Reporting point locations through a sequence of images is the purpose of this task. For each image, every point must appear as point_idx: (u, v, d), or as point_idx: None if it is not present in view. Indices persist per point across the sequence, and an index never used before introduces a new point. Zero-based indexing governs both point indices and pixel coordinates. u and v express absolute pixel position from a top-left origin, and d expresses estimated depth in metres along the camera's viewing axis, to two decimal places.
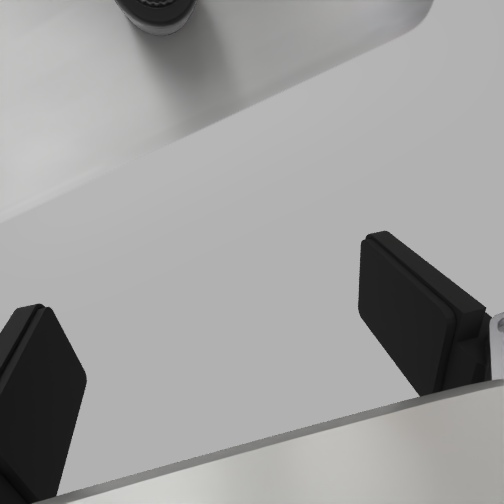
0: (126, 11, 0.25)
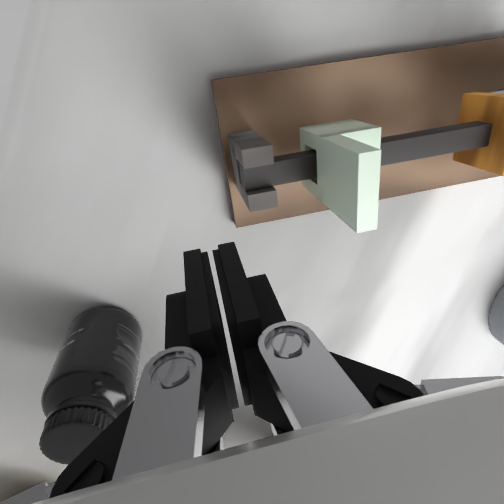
0: (78, 374, 0.26)
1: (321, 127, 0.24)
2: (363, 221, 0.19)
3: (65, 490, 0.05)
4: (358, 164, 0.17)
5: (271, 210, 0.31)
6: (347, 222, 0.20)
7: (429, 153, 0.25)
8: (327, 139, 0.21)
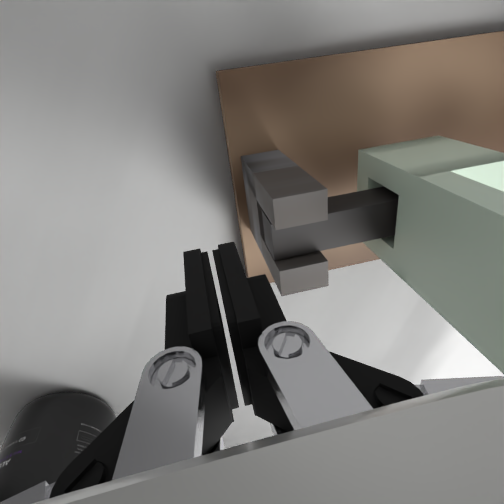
0: None
1: (399, 151, 0.15)
2: None
3: (66, 490, 0.05)
4: None
5: None
6: (476, 343, 0.11)
7: None
8: (435, 183, 0.11)
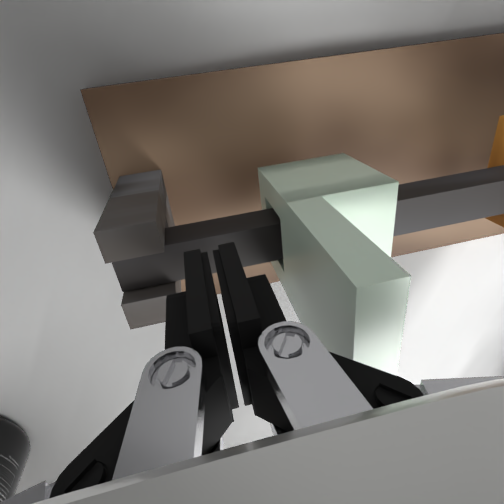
0: None
1: (292, 171, 0.14)
2: None
3: (66, 490, 0.05)
4: (355, 307, 0.07)
5: None
6: None
7: (446, 220, 0.15)
8: (295, 211, 0.11)
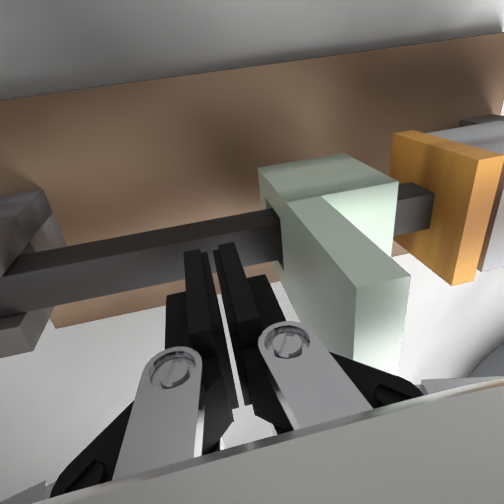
0: None
1: (292, 171, 0.14)
2: None
3: (65, 490, 0.05)
4: (355, 307, 0.07)
5: (108, 302, 0.20)
6: None
7: None
8: (295, 211, 0.11)
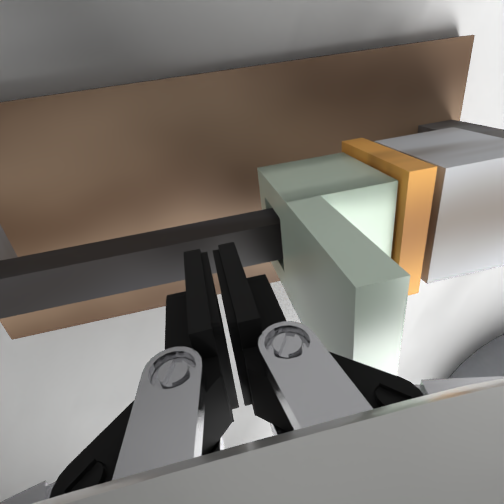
0: None
1: (292, 170, 0.14)
2: None
3: (65, 490, 0.05)
4: (354, 307, 0.07)
5: (65, 312, 0.20)
6: None
7: (263, 257, 0.14)
8: (295, 211, 0.11)
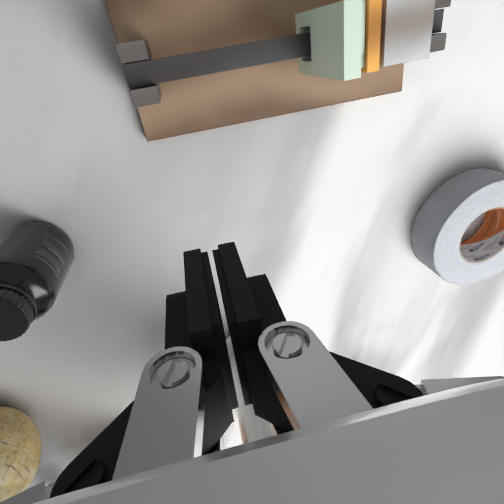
0: None
1: None
2: (349, 69, 0.23)
3: (65, 490, 0.05)
4: (343, 10, 0.21)
5: (178, 124, 0.34)
6: (336, 76, 0.24)
7: (300, 53, 0.27)
8: None
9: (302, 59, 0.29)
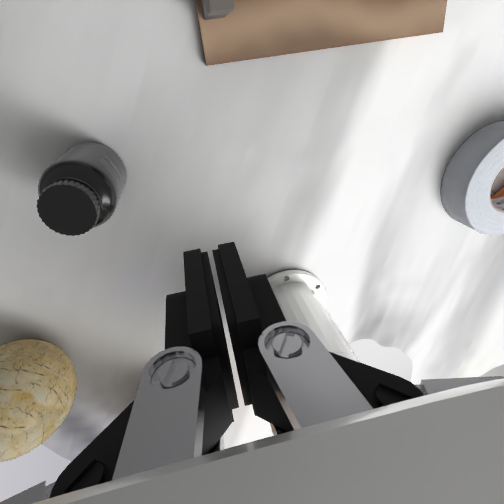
0: (69, 162, 0.30)
1: None
2: None
3: (66, 490, 0.05)
4: None
5: (236, 49, 0.36)
6: None
7: None
8: None
9: None
